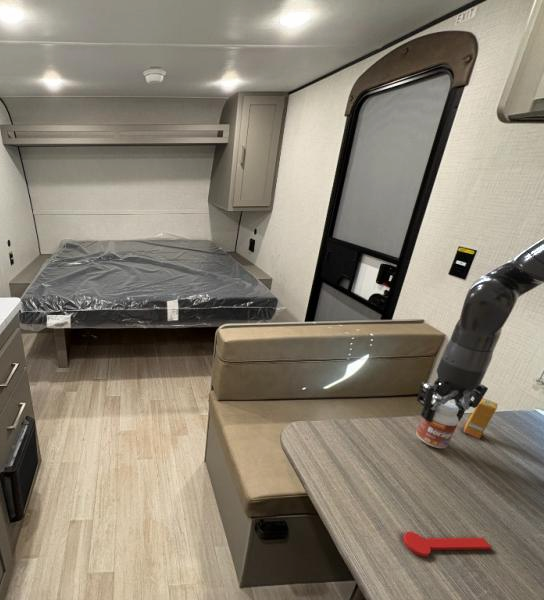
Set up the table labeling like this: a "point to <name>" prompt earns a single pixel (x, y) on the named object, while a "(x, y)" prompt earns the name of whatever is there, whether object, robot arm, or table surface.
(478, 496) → the table surface
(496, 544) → the table surface
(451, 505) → the table surface
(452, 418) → the pill bottle
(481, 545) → the spoon
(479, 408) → the supplement box
